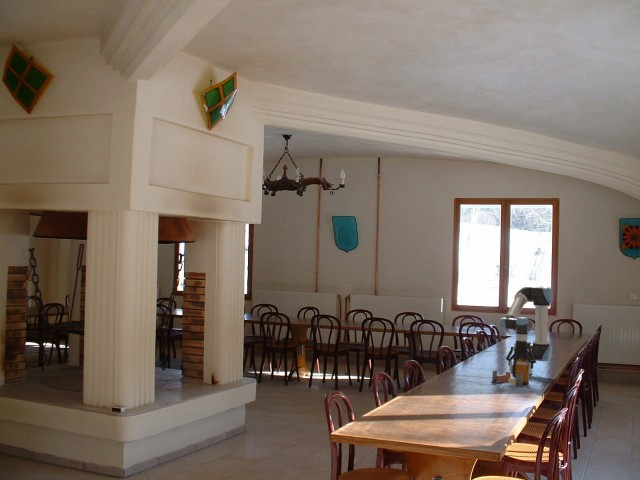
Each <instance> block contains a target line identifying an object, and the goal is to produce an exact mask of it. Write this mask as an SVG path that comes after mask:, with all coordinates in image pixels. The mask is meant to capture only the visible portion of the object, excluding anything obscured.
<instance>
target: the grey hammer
mask: <svg viewBox="0 0 640 480" xmlns="http://www.w3.org/2000/svg"><path fill="white" fill-rule="evenodd" d="M507 383H508V384H511V385H515V387H519V388H522V387H523V386H524V385H523V374H517V379H515V378H511V377H510V378H508V381H507Z"/></svg>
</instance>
